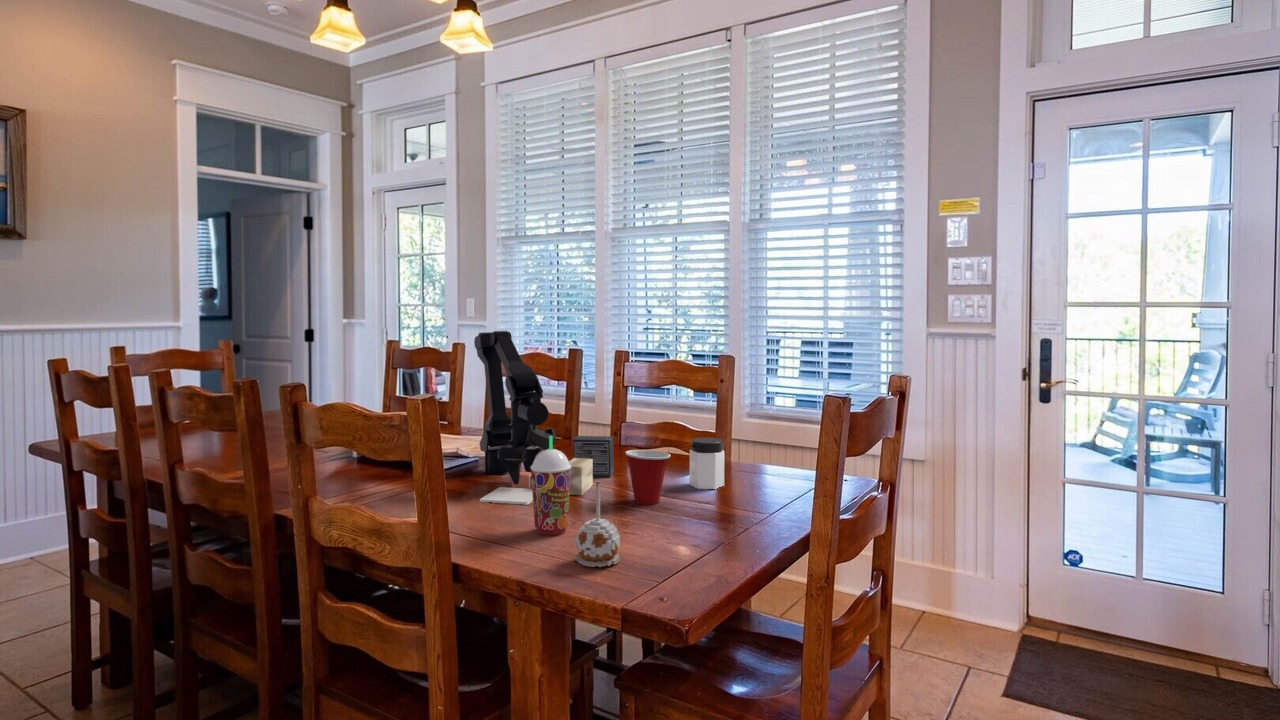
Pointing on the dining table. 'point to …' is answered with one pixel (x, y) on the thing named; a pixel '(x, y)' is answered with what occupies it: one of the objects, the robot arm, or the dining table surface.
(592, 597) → the dining table surface
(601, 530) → the caramel apple
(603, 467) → the small box
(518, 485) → the pink striped block
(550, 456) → the smoothie
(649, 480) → the plastic cup
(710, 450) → the jar
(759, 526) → the dining table surface
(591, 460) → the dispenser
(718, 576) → the dining table surface
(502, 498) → the tile
